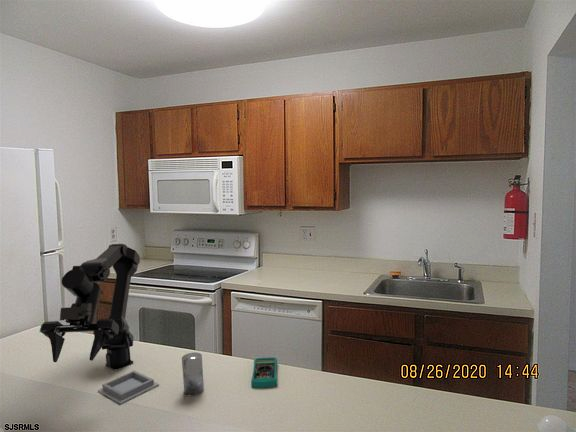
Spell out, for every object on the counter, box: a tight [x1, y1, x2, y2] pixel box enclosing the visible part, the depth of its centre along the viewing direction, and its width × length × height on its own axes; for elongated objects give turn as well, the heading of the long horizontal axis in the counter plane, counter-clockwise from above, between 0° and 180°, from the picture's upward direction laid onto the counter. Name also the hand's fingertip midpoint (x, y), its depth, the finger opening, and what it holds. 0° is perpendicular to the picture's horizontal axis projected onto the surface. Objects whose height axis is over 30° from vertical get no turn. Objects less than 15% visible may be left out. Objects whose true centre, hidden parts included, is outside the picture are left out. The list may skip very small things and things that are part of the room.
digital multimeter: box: [250, 356, 278, 389], centre depth 124 cm, size 7×15×3 cm, turn 1°
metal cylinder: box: [181, 352, 205, 397], centre depth 116 cm, size 6×6×10 cm
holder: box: [97, 370, 160, 405], centre depth 119 cm, size 12×12×2 cm
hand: (72, 361), depth 105 cm, fingers open, 9 cm apart
